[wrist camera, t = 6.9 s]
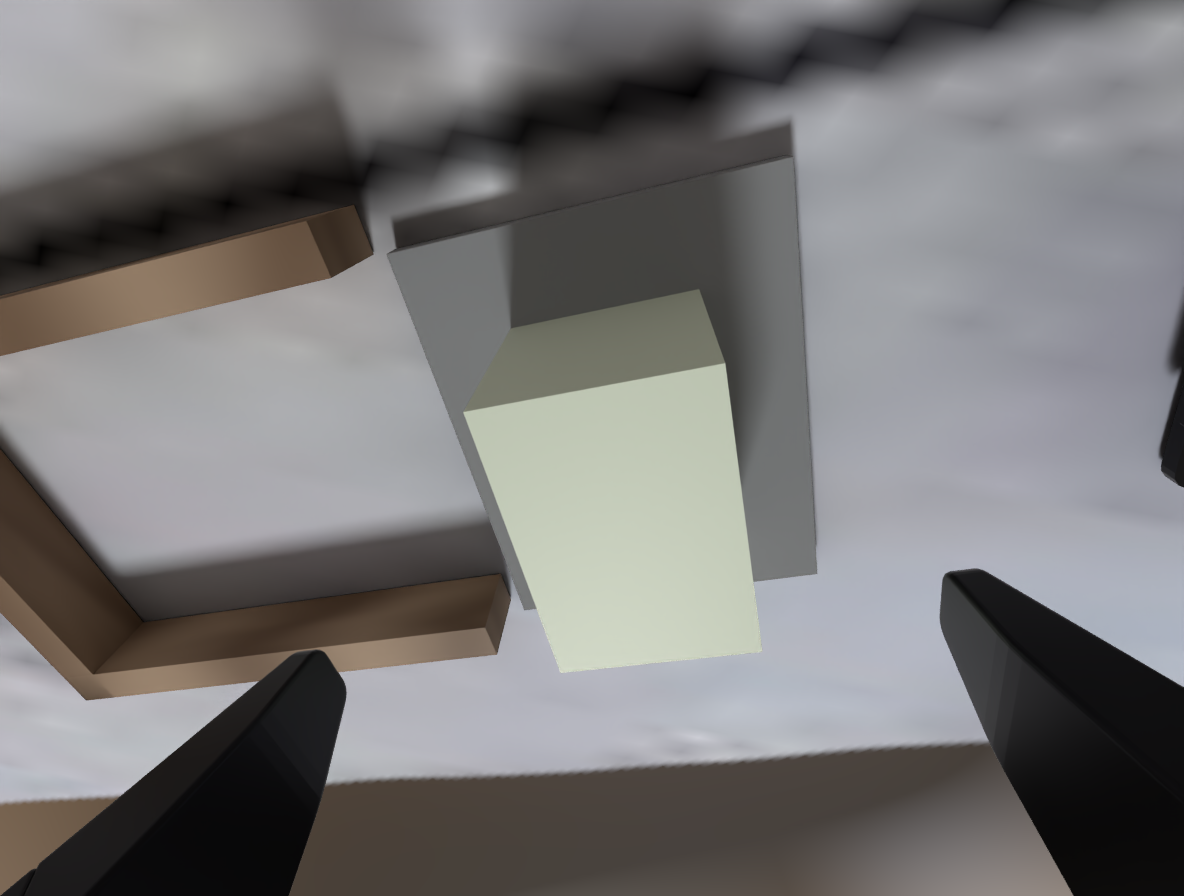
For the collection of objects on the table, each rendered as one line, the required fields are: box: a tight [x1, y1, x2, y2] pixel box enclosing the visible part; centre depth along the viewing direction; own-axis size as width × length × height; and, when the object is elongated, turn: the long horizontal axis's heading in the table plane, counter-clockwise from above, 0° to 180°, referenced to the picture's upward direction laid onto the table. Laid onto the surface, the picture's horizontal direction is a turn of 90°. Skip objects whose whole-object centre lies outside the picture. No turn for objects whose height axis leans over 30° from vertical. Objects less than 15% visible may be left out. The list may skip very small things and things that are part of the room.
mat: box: [387, 155, 817, 610], centre depth 14 cm, size 8×10×1 cm
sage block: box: [463, 289, 762, 673], centre depth 12 cm, size 4×6×4 cm, turn 13°
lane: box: [0, 205, 511, 700], centre depth 15 cm, size 13×11×2 cm
